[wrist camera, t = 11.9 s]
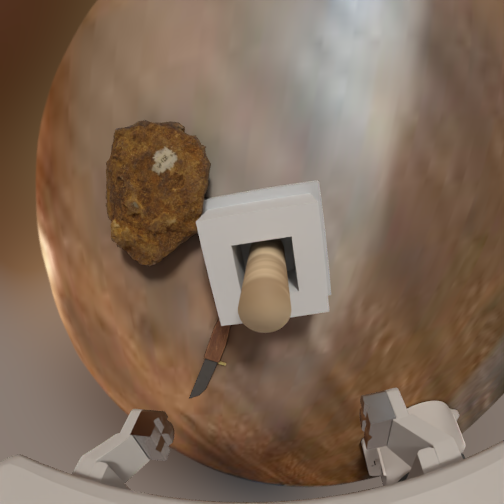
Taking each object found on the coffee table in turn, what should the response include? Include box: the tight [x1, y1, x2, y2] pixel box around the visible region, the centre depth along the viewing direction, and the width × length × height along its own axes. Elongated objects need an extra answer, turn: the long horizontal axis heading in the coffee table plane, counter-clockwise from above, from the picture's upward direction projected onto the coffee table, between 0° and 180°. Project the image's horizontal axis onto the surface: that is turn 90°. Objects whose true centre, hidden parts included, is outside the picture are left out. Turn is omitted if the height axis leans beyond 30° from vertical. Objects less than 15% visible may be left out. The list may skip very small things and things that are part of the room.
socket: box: [196, 180, 331, 326], centre depth 29 cm, size 12×12×6 cm
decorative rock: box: [106, 120, 211, 266], centre depth 29 cm, size 11×4×15 cm
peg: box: [238, 238, 291, 333], centre depth 25 cm, size 3×3×12 cm
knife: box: [189, 319, 231, 398], centre depth 37 cm, size 17×1×3 cm
